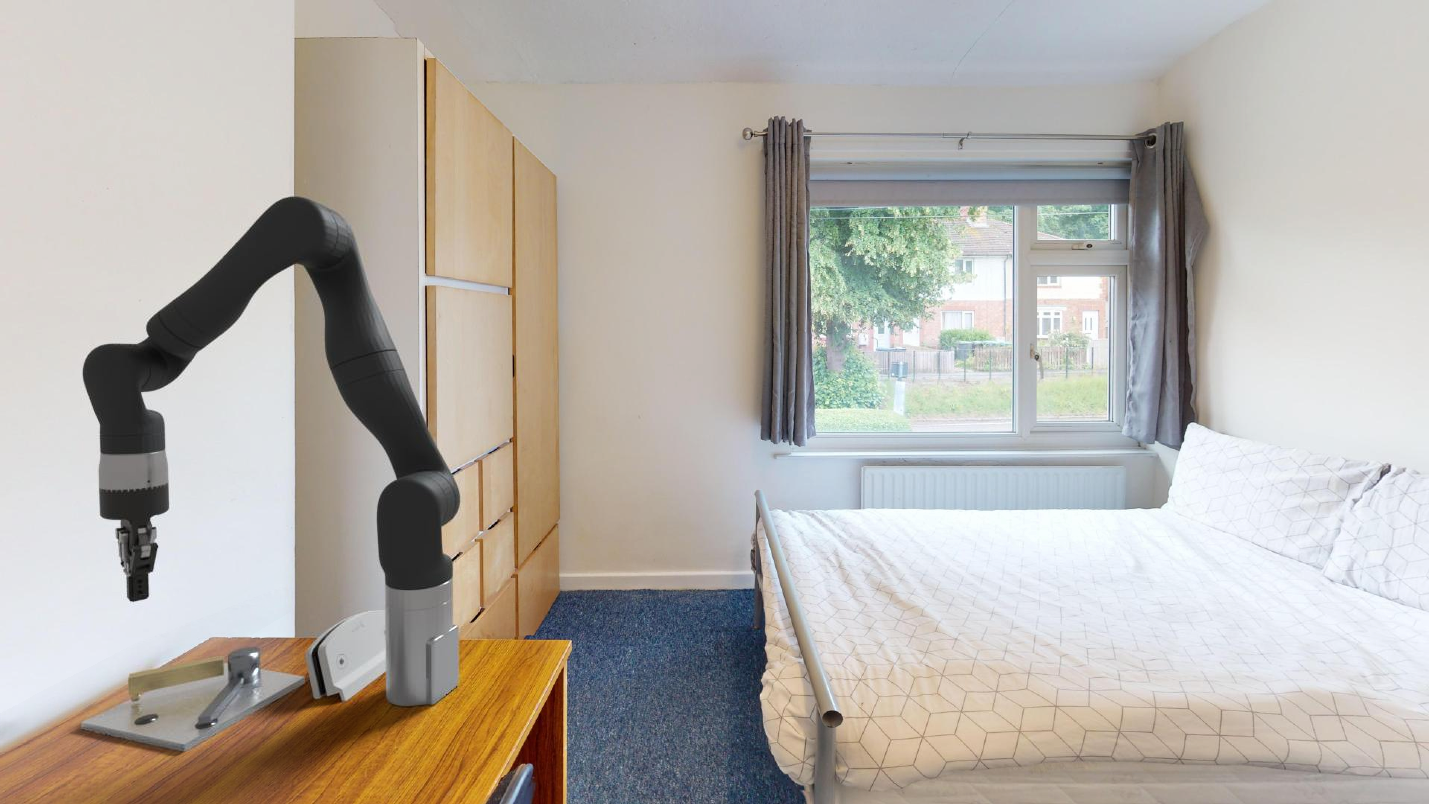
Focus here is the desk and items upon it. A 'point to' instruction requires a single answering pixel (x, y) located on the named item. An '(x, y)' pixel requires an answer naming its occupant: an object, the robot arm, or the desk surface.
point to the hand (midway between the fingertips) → (138, 599)
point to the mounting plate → (197, 705)
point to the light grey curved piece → (348, 655)
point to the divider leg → (174, 675)
